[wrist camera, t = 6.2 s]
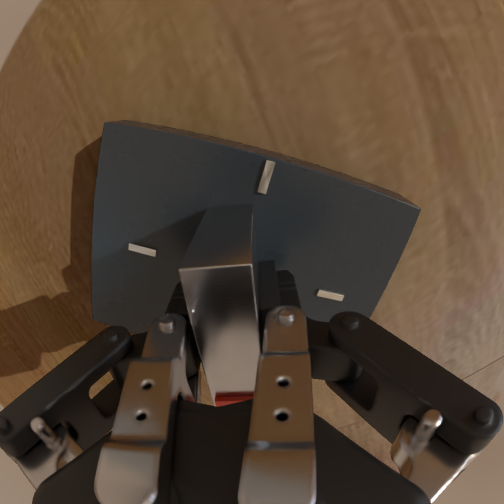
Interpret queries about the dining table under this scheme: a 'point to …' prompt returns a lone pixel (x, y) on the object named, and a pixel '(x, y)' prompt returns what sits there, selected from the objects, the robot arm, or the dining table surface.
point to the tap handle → (225, 300)
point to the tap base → (233, 194)
